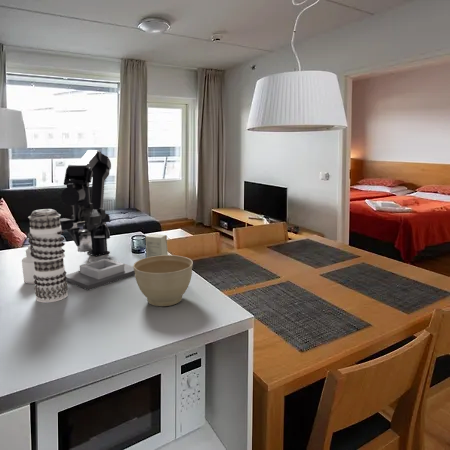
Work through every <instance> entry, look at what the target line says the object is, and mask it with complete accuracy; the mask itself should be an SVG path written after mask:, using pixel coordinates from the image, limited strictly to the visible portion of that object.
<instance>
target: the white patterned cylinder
mask: <svg viewBox="0 0 450 450" xmlns="http://www.w3.org/2000/svg"><path fill="white" fill-rule="evenodd" d="M61 215H62V214H60V213H59V212H57V210H55V209H52V208H43V209H36V210H33V211H32V212H31V214H30V215H29V216H28V217H27V218H28V219H29V226H30V227H29V232H28V233H27V237H28V240H27V241H28V243H29V244H28V245H31V246H30V250H31V253H30V254H31V256H32V260H33V261H34V267H35V268H34V276H33V277H34V279H35V281H34V284H33V285H34V295H35V301H37V302H39V303H44V304H45V303H46V304H47V303H48V304H49V303H55V302H59V301H62V300H65V298H68V296H69V292H68V289H69V288H68V282H66V279H67V277H66V276H65V275H67V271H66V268H65V267H66V266H65V264H64V258H65V256H66V255H65V251H66V250H65V249H64V248H63V247H64V246H65V245H66V243H65V242H64V241H65V237H63V236H61V235H63V234H65V230H61V225H60V219H61Z"/></svg>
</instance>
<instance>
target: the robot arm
mask: <svg viewBox="0 0 450 450" xmlns="http://www.w3.org/2000/svg"><path fill="white" fill-rule="evenodd" d="M111 169H112V163H111V160H110V157H108V156H107V155H105V154H103V153H102V152H101V150H98V149H88V150H86V151H85V154H84V155H83V156H82V157H81V159H80V160H78V161H76V162H71V163H70V164H68V165H67V167H66V168H65V174H64V180H63V186H66V188H65V189H63V190H62V192H61V195H60V197H61V200H62V202H63V203H64V204H65V205H67V206H70V207H72V213H73V214H72V215H71V219H70V218H66V217H65V218H64V217H63V218H60V225H61V230H63V231H67V232H68V234H69V235H70V236H71V238H72V240H73V242H74V244H75V245H76V247H77V246H79V233H78V232H79V230H81V228H80V227H78V225H80V224H81V225H82V224H83V225H82V230H84V229H88V230H91V240H92V250H91V251H88V252H86V254H87V255H89V256H94V257H99V256H102V255H106V254H110V252H111V251H110V250H108V240H109V239H110V238H111V237H110V236H111V234H110V230H109V227H108V225H107V223H108V222H110V221H111V217H110V215H109V214H108V213H106V209H105V208H104V197H105V196H104V193H105V181H106V179H107V178H108V177H109V176H110V170H111ZM91 182H92V184H91V193H90V183H91ZM90 195H91V196H90Z"/></svg>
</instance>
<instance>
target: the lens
mask: <svg viewBox="0 0 450 450" xmlns="http://www.w3.org/2000/svg"><path fill="white" fill-rule="evenodd" d="M78 233H79V246H77V245H76V247H77V252H78V253H87V252H88V251H91V250H92V240H91V230H88V229H84V230H83V229H79V232H78Z"/></svg>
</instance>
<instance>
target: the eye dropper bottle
mask: <svg viewBox="0 0 450 450" xmlns="http://www.w3.org/2000/svg"><path fill="white" fill-rule="evenodd" d="M27 246H28V247H27V248H26V250H25V257H23V258H22V259H21V266H22V267H21V268H22V275H23V276H22V277H23V281H24V283H26V284H30V285H35V284H34V281H35V279H34V277H33V276H34V268H35V267H34V261H33V260H32V256H31V254H30V253H31V250H30V246H31V244H28V245H27Z"/></svg>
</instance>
